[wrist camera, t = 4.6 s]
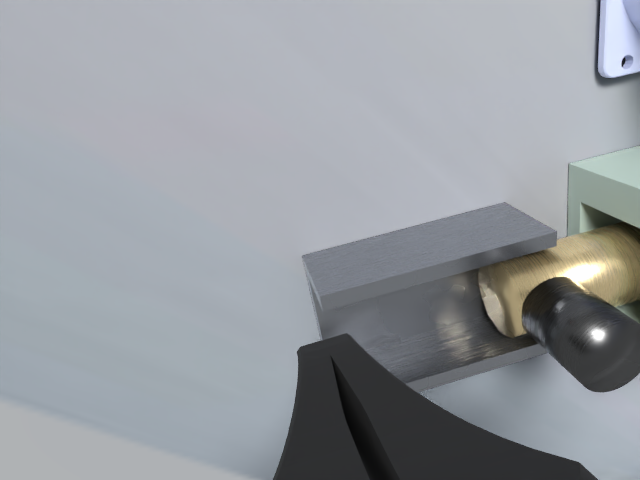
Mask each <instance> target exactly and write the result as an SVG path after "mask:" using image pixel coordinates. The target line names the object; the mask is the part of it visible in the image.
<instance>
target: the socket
mask: <svg viewBox="0 0 640 480" xmlns="http://www.w3.org/2000/svg"><path fill="white" fill-rule="evenodd" d="M623 221H624V222H626V223H629V224H631V225H633V226H635V227H638V228H640V146H636V147H632V148H628V149H624V150H620V151H616V152H612V153H608V154H605V155H601V156H597V157H593V158H589V159H585V160H581V161H577V162H574V163H570V164H569V180H568V227H567V237H568V236H572V235H576V234H579V233H583V232H587V231H590V230H594V229H597V228H601V227H605V226H608V225H612V224H616V223H619V222H623ZM615 308H617V309H618V310H620V311H621V312H623V313H624V314H626V315H627V316H629V317H630V318H632V319H633V320H635V321H636V322H638V323H639V324H640V300H637V301H634V302H631V303H627V304H624V305H620V306H617V307H615Z"/></svg>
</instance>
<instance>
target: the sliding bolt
mask: <svg viewBox="0 0 640 480" xmlns="http://www.w3.org/2000/svg"><path fill="white" fill-rule="evenodd" d="M479 287H480V292H481V296H482V299H483V302H484V305H485V308H486V310H487V312H488V314H489V316H490V318H491V320H492V321H493V323H494V324H495V326H496V327H497V328H498V329H499V330H500V331H501V332H502V333H503V334H504V335H506V336H508V337H516V336H520V335H523V334H526V333H528V334H529V335H530V336H531V337H532V338H533V339H534V340H535V341H536V342H537V343H538V344H539V345H540V346H542V347H543V348H544V349H545V350H546V351H547V352H548V353H549V354H550V355H551V356H552V357H553V358H554V359H555V360H557V361H558V362H559V363H560V364H561V365H562V366H563V367H564V368H565V369H566V370H567V371H568V372H569V373H571V374H572V375H573V376H574V377H575V378H576V379H577V380H578V381H579V382H580V383H581V384H582V385H583V386H584V387H586V388H587V389H589V390H591V391H594V392H608V391H612V390H615V389H618V388H620V387H622V386H624V385H625V384H627V383H628V382H630V381H631V380H632V379H634V378H635V377H636V376H637V375H638V374H639V373H640V324H639V323H638V322H636V321H635V320H633V319H632V318H630V317H629V316H627V315H626V314H624V313H623V312H621V311H620V310H618V309H617V308H615V307H617V306H620V305H624V304H627V303H631V302H634V301H637V300H640V228H638V227H635V226H633V225H631V224H629V223H626V222H624V221H623V222H619V223H616V224H612V225H608V226H605V227H601V228H597V229H594V230H590V231H587V232H583V233H579V234H576V235H572V236H568V237H565V238H561V239H558V240H557V246H556V247H552V248H548V249H545V250H541V251H538V252H534V253H530V254H527V255H523V256H520V257H516V258H512V259H509V260H505V261H502V262H498V263H494V264H491V265H487V266H484V267H480V268H479Z"/></svg>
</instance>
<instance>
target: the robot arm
mask: <svg viewBox="0 0 640 480" xmlns="http://www.w3.org/2000/svg"><path fill="white" fill-rule="evenodd" d="M624 57H625V59H626V61H625V64H624V65H623V67H622V65H621V62H622V59H623V58H624ZM598 71H599V73H600V75H601V76H603V77H606V78H616V77H620V76H624V75H628V74H632V73H637V72H640V0H601V7H600V31H599V54H598ZM297 355H298V382H297V390H296V397H295V404H294V409H293V414H292V418H291V423H290V427H289V432H288V436H287V439H286V443H285V446H284V450H283V453H282V456H281V459H280V462H279V465H278V468H277V471H276V473H275V476H274V478H273V480H598V479H597V478H596V477H595V476H593V475H592V474H591V473H590V472H589V471H588V470H587V469H586V468H585V467H584V466H583V465H581V464H580V463H579V462H576V461H573V460H569V459H566V458H562V457H559V456H556V455H552V454H549V453H545V452H542V451H539V450H535V449H532V448H529V447H526V446H524V445H521V444H518V443H515V442H513V441H510V440H507V439H505V438H502V437H500V436H497V435H495V434H493V433H490V432H488V431H486V430H484V429H482V428H479V427H477V426H475V425H473V424H471V423H468V422H466V421H464V420H463V419H461V418H459V417H457V416H455V415H453V414H451V413H449V412H448V411H446V410H444V409H443V408H441V407H439V406H437V405H436V404H434V403H432V402H431V401H429V400H428V399H426V398H425V397H423V396H422V395H420V394H419V393H417V392H416V391H414V390H413V389H412V388H410V387H409V386H407V385H406V384H405V383H403V382H402V381H401V380H399V379H398V378H397V377H395V376H394V375H393V374H392V373H390V372H389V371H388V370H387V369H385V368H384V367H383V366H382V365H381V364H379V363H378V362H377V361H376V360H375V359H374V358H373V357H372V356H371V355H369V354H368V353H367V352H366V351H365V350H364V349H363V348H362V347H361V346H360V345H359V344H358V343H357V342H356V341H355V340H354V338H353V337H352V336H351V335H349V334H347V333H345V334H342V335H339V336H335V337H332V338H329V339H325V340H322V341H318V342H315V343H312V344H308V345H305V346H302V347H300V348H299V350H298V351H297Z"/></svg>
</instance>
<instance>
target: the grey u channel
mask: <svg viewBox="0 0 640 480" xmlns="http://www.w3.org/2000/svg"><path fill="white" fill-rule="evenodd" d="M556 246H557V231H555V230H553V229H551V228H550V227H548V226H546V225H544V224H543V223H541V222H539V221H537V220H535V219H534V218H532V217H530V216H528V215H527V214H525V213H523V212H521V211H519V210H518V209H516V208H514V207H512V206H511V205H509V204H507V203H505V202H504V203H501V204H497V205H493V206H489V207H485V208H482V209H478V210H474V211H470V212H466V213H463V214H459V215H455V216H451V217H447V218H444V219H440V220H436V221H432V222H428V223H425V224H421V225H417V226H413V227H409V228H406V229H402V230H398V231H394V232H390V233H387V234H383V235H379V236H375V237H371V238H368V239H364V240H360V241H356V242H352V243H349V244H345V245H341V246H337V247H333V248H330V249H326V250H322V251H318V252H314V253H311V254H307V255H303V256H302V258H303V263H304V267H305V271H306V276H307V280H308V285H309V289H310V294H311V298H312V303H313V307H314V311H315V316H316V320H317V325H318V329H319V334H320V338H321V341H322V340H325V339H329V338H332V337H335V336H339V335H342V334H345V333H347V334H349V335H351V336H352V337H353V338H354V340H355V341H356V342H357V343H358V344H359V345H360V346H361V347H362V348H363V349H364V350H365V351H366V352H367V353H368V354H369V355H371V356H372V357H373V358H374V359H375V360H376V361H377V362H378V363H379V364H381V365H382V366H383V367H384V368H385V369H387V370H388V371H389V372H390V373H392V374H393V375H394V376H395V377H397V378H398V379H399V380H401V381H402V382H403V383H405V384H406V385H407V386H409V387H410V388H412V389H413V390H414V391H416V392H417V393H418V392H421V391H424V390H427V389H431V388H434V387H437V386H441V385H444V384H447V383H450V382H454V381H457V380H460V379H464V378H467V377H470V376H473V375H477V374H480V373H483V372H487V371H490V370H493V369H496V368H500V367H503V366H506V365H510V364H513V363H516V362H519V361H523V360H526V359H529V358H533V357H536V356H539V355H542V354H546V353H548V352H547V351H546V350H545V349H544V348H543V347H542V346H540V345H539V344H538V343H537V342H536V341H535V340H534V339H533V338H532V337H531V336H530V335H529V334H528V333H526V334H523V335H520V336H516V337H508V336H506V335H504V334H503V333H502V332H501V331H500V330H499V329H498V328H497V327H496V326H495V324H494V323H493V321H492V320H491V318H490V316H489V314H488V312H487V310H486V308H485V305H484V302H483V299H482V296H481V292H480V287H479V268H480V267H484V266H487V265H491V264H494V263H498V262H502V261H505V260H509V259H512V258H516V257H520V256H523V255H527V254H530V253H534V252H538V251H541V250H545V249H548V248H552V247H556Z"/></svg>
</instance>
